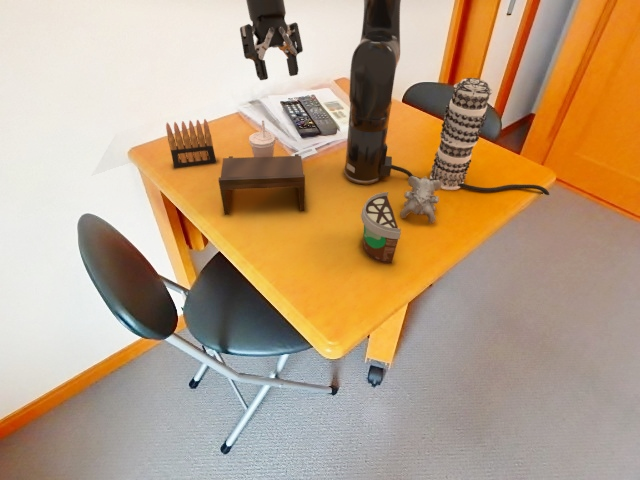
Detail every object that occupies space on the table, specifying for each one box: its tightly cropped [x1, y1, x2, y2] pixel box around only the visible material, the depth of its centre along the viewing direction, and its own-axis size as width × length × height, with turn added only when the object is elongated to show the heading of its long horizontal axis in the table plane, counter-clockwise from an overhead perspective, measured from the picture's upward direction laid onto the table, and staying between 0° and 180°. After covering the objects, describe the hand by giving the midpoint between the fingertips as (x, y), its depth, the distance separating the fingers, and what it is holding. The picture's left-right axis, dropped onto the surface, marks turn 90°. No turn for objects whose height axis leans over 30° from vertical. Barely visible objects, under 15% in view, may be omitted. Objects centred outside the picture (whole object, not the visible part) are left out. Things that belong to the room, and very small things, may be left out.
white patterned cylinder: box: [429, 77, 494, 191], centre depth 93 cm, size 9×9×25 cm
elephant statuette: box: [399, 175, 442, 224], centre depth 90 cm, size 9×12×8 cm
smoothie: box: [248, 120, 276, 157], centre depth 97 cm, size 6×6×14 cm
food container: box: [360, 191, 402, 264], centre depth 79 cm, size 12×6×10 cm, turn 5°
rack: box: [218, 153, 306, 216], centre depth 94 cm, size 18×21×9 cm
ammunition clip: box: [165, 118, 217, 169], centre depth 100 cm, size 11×2×12 cm, turn 106°
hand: (279, 77), depth 87 cm, fingers open, 8 cm apart
